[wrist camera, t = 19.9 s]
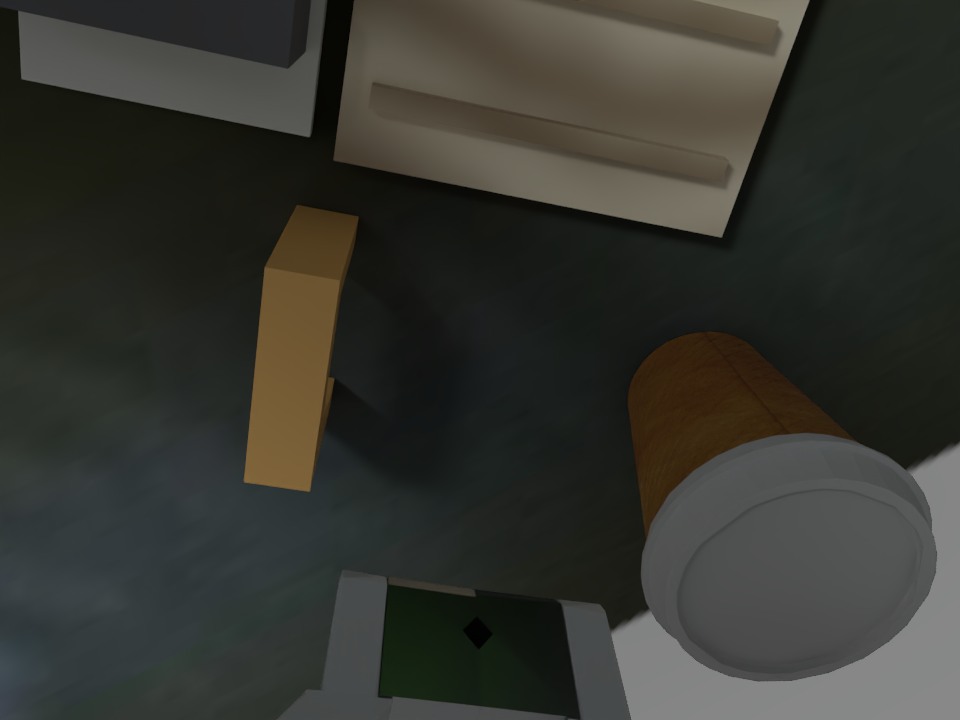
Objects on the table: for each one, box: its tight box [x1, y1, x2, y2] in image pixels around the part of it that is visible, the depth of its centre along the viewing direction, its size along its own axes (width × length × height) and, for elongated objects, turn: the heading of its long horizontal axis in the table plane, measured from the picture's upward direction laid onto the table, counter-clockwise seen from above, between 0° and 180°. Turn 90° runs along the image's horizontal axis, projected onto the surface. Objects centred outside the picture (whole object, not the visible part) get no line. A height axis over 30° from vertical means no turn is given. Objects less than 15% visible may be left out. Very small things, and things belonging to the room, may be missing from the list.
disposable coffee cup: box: [628, 331, 937, 681], centre depth 31 cm, size 10×10×12 cm
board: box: [333, 0, 809, 238], centre depth 29 cm, size 10×15×2 cm, turn 78°
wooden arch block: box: [244, 205, 359, 492], centre depth 31 cm, size 9×2×6 cm, turn 168°
